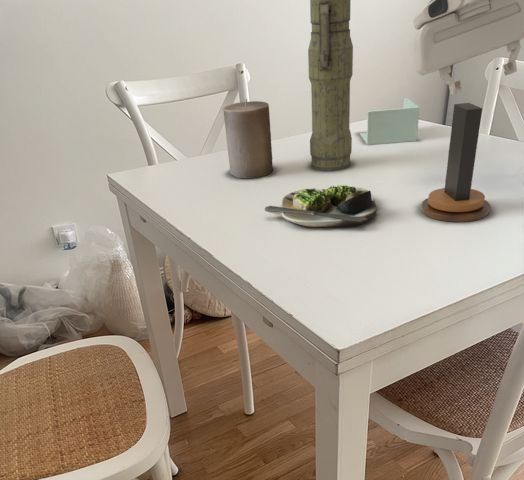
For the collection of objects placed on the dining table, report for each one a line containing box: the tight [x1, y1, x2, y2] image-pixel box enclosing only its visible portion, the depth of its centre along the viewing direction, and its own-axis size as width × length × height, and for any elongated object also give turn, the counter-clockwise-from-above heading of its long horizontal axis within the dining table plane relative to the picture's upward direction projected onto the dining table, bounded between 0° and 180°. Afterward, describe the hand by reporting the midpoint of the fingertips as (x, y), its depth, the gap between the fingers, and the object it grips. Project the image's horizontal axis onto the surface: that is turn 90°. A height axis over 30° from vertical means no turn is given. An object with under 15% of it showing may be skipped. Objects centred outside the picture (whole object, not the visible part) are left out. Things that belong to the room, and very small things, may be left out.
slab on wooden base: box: [427, 102, 486, 212], centre depth 87 cm, size 9×9×15 cm
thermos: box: [307, 0, 354, 172], centre depth 109 cm, size 9×12×35 cm
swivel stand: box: [420, 197, 491, 223], centre depth 92 cm, size 11×11×1 cm
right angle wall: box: [359, 97, 420, 146], centre depth 134 cm, size 12×12×8 cm
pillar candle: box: [222, 98, 274, 179], centre depth 115 cm, size 10×10×15 cm
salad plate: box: [264, 184, 378, 228], centre depth 94 cm, size 19×18×5 cm
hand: (483, 83), depth 94 cm, fingers open, 8 cm apart
